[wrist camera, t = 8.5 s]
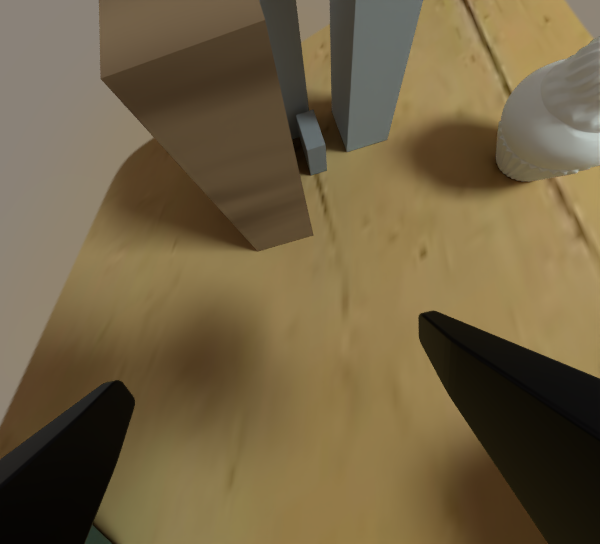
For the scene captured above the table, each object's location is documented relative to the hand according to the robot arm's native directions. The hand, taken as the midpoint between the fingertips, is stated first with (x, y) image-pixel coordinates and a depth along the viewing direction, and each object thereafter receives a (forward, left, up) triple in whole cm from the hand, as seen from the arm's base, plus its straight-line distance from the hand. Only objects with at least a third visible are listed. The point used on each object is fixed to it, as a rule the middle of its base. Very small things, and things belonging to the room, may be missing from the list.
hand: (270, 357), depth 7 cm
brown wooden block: (+6, -9, -8) cm, 14 cm away
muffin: (-9, -16, -8) cm, 20 cm away
